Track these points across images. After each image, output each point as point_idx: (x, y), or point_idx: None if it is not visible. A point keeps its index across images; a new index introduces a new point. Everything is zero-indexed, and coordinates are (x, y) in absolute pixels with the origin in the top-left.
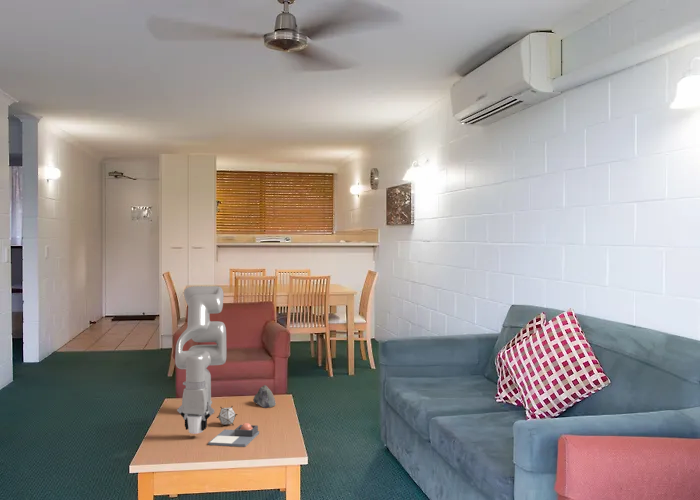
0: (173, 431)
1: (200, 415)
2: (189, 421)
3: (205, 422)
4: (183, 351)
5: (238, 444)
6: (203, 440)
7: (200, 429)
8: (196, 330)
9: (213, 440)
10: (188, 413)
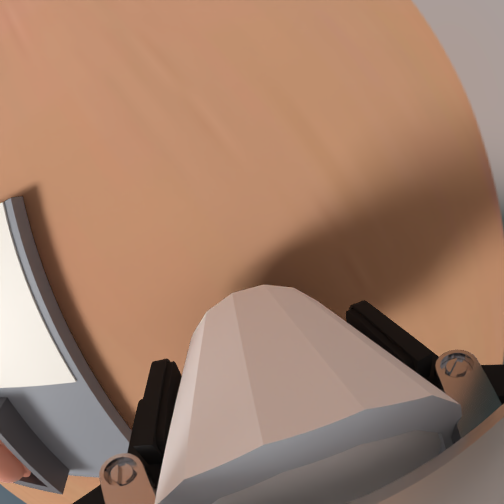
0: (447, 339)
1: None
2: (352, 345)
3: (132, 446)
4: None
5: None
6: (132, 286)
7: (185, 362)
8: None
9: (7, 259)
10: (474, 441)
